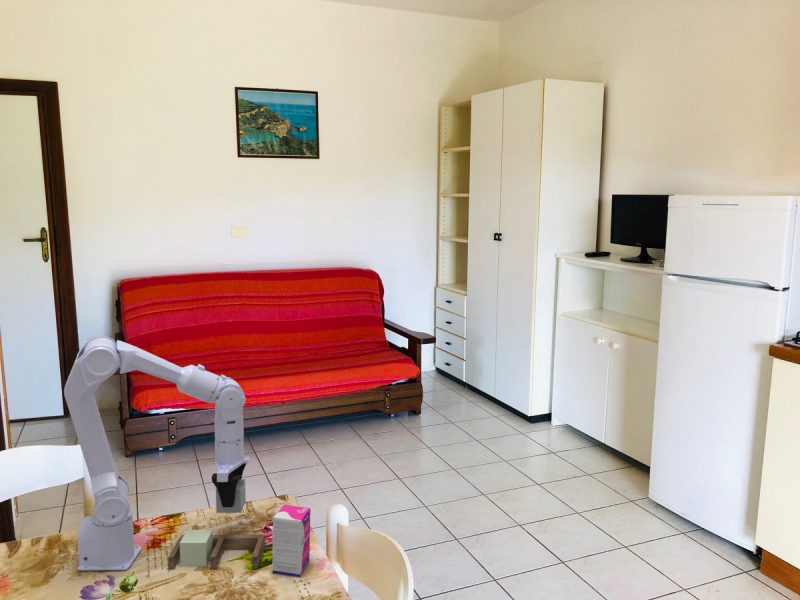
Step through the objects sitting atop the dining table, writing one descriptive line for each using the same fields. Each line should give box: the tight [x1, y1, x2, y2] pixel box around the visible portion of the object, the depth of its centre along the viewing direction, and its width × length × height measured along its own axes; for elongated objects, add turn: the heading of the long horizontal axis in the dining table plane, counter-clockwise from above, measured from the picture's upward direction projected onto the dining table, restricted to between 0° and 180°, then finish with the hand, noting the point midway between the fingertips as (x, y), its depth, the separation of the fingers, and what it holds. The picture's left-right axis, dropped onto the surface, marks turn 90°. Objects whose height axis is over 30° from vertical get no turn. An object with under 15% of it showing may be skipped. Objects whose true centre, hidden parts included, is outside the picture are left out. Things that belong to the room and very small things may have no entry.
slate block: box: [215, 478, 246, 514], centre depth 134 cm, size 5×5×5 cm
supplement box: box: [271, 504, 311, 578], centre depth 124 cm, size 6×6×12 cm
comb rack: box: [167, 533, 266, 570], centre depth 128 cm, size 17×8×2 cm, turn 92°
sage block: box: [179, 529, 214, 568], centre depth 127 cm, size 5×5×5 cm
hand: (230, 500), depth 134 cm, fingers closed on slate block, 5 cm apart
